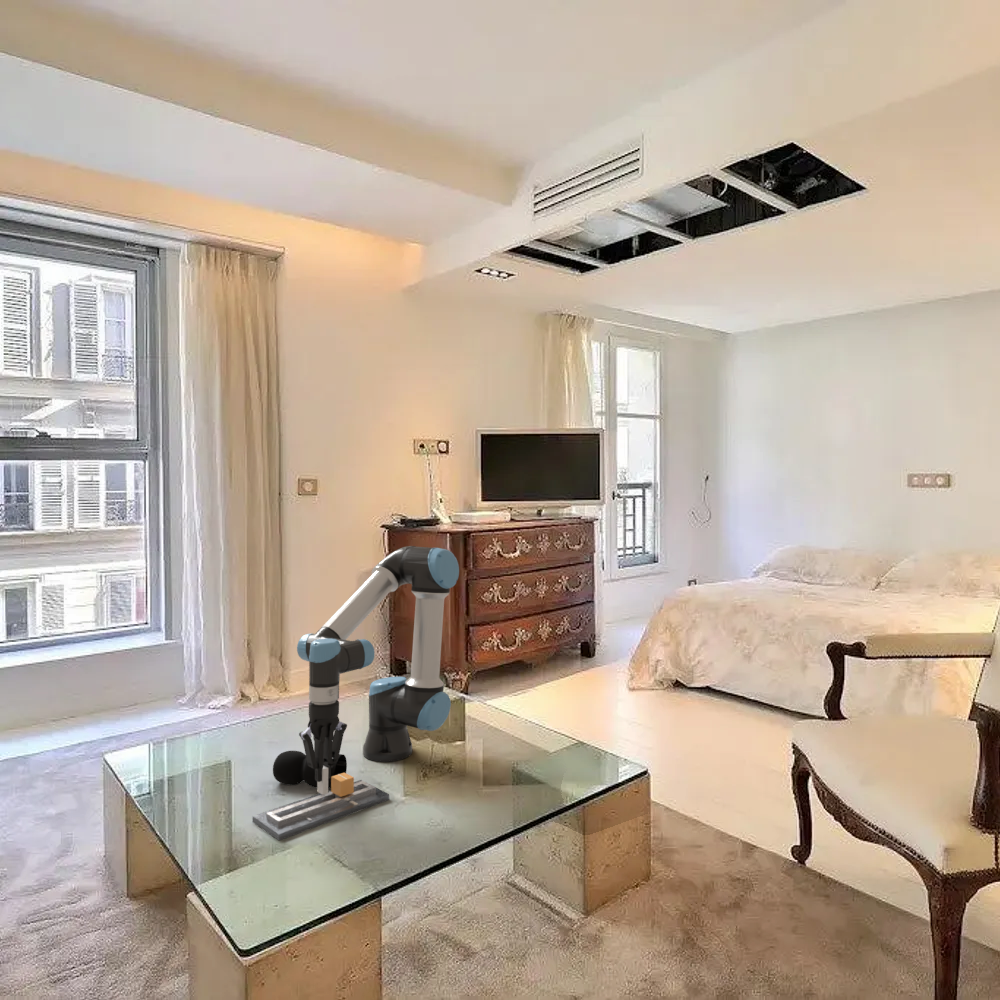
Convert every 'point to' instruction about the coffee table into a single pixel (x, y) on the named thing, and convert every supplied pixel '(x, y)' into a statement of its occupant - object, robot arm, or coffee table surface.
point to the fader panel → (317, 810)
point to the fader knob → (342, 785)
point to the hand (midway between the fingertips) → (322, 792)
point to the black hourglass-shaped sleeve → (302, 769)
